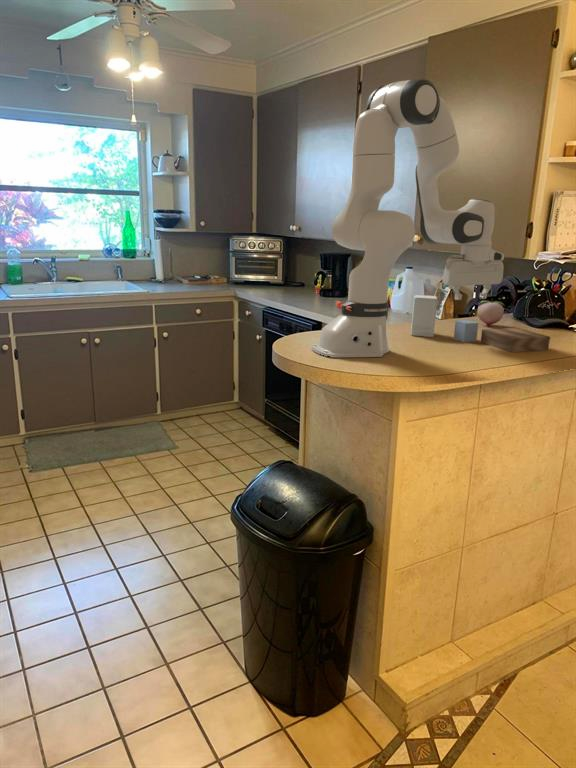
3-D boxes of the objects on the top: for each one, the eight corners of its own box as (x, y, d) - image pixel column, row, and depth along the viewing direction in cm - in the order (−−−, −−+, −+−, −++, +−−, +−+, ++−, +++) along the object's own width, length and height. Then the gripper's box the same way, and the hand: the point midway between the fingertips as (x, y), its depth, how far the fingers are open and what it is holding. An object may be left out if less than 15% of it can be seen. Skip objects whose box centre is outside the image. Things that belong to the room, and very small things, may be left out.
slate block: (463, 342, 182) (465, 323, 181) (453, 338, 187) (455, 320, 185) (476, 341, 184) (478, 322, 182) (466, 338, 188) (468, 320, 187)
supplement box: (433, 337, 188) (437, 298, 184) (410, 335, 189) (414, 297, 186) (432, 333, 195) (436, 295, 191) (410, 331, 196) (414, 294, 193)
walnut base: (511, 352, 170) (513, 338, 169) (480, 342, 183) (482, 329, 182) (548, 349, 175) (550, 336, 174) (515, 339, 188) (517, 327, 186)
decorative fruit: (480, 327, 207) (483, 299, 204) (473, 323, 215) (476, 296, 212) (506, 328, 207) (510, 300, 204) (498, 324, 215) (501, 297, 212)
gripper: (453, 255, 171) (448, 302, 175) (508, 254, 178) (503, 299, 182) (440, 254, 177) (436, 298, 181) (495, 253, 184) (490, 296, 188)
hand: (470, 299), depth 182 cm, fingers open, 8 cm apart
